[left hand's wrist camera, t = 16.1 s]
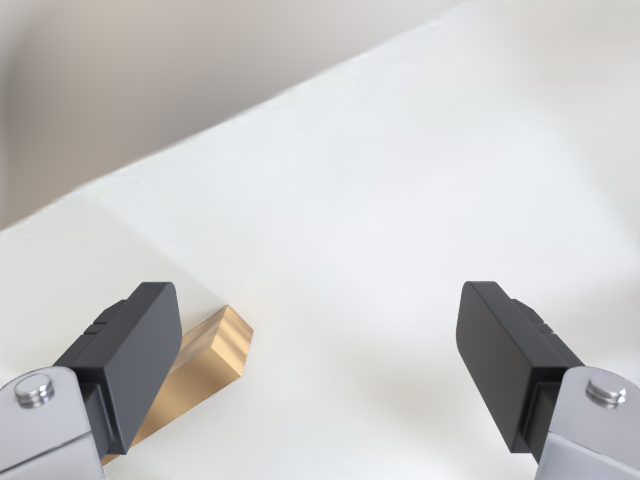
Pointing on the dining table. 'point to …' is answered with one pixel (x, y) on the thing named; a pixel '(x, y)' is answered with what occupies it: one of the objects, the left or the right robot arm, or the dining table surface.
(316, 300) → the dining table surface
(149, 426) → the bar
